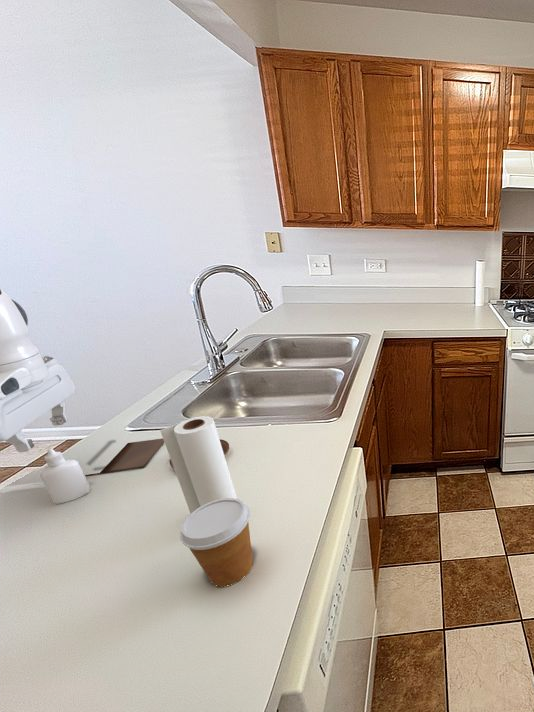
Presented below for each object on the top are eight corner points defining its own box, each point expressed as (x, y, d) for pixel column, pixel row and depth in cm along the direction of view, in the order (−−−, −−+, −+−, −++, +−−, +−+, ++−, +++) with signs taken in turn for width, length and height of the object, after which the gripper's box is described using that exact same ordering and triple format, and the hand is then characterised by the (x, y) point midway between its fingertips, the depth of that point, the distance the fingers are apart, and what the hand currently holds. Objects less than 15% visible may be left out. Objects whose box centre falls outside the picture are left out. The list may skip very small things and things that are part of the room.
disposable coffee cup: (190, 603, 62) (166, 547, 58) (209, 554, 71) (190, 502, 66) (256, 588, 65) (239, 533, 60) (268, 542, 73) (253, 491, 68)
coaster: (82, 476, 90) (81, 474, 90) (112, 446, 101) (111, 444, 100) (144, 468, 93) (143, 466, 93) (167, 439, 104) (166, 437, 103)
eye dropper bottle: (64, 491, 85) (40, 445, 81) (95, 486, 87) (73, 441, 82) (50, 505, 82) (24, 458, 77) (83, 500, 83) (59, 453, 78)
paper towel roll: (247, 507, 81) (221, 417, 73) (222, 529, 76) (191, 435, 68) (219, 500, 83) (191, 412, 75) (193, 521, 78) (159, 428, 70)
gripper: (32, 354, 82) (61, 412, 87) (-62, 400, 63) (-19, 470, 69) (69, 351, 83) (95, 408, 88) (-13, 395, 65) (26, 464, 70)
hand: (44, 436), depth 78 cm, fingers open, 8 cm apart
